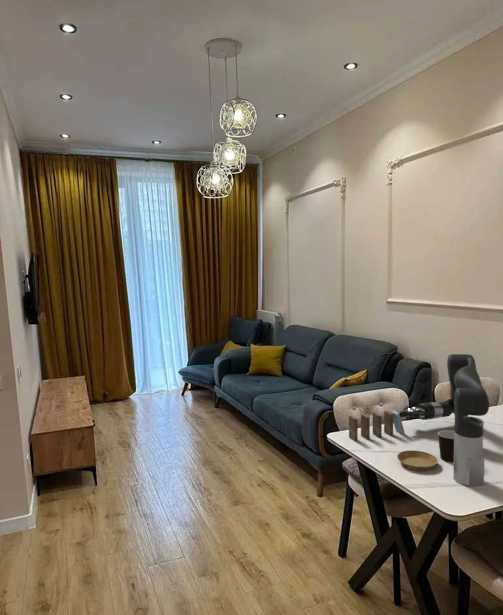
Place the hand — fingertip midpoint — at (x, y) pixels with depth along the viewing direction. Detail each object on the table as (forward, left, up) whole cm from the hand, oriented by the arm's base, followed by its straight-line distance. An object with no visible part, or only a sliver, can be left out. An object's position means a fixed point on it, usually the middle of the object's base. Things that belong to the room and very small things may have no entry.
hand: (398, 414), depth 205 cm
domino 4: (0, +5, -9) cm, 10 cm away
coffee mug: (-30, -6, -9) cm, 32 cm away
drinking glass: (-23, -19, -9) cm, 31 cm away
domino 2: (-1, +17, -9) cm, 19 cm away
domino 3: (-1, +11, -9) cm, 14 cm away
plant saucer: (-31, +10, -9) cm, 34 cm away
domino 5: (0, -1, -8) cm, 8 cm away
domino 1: (-2, +23, -9) cm, 25 cm away
